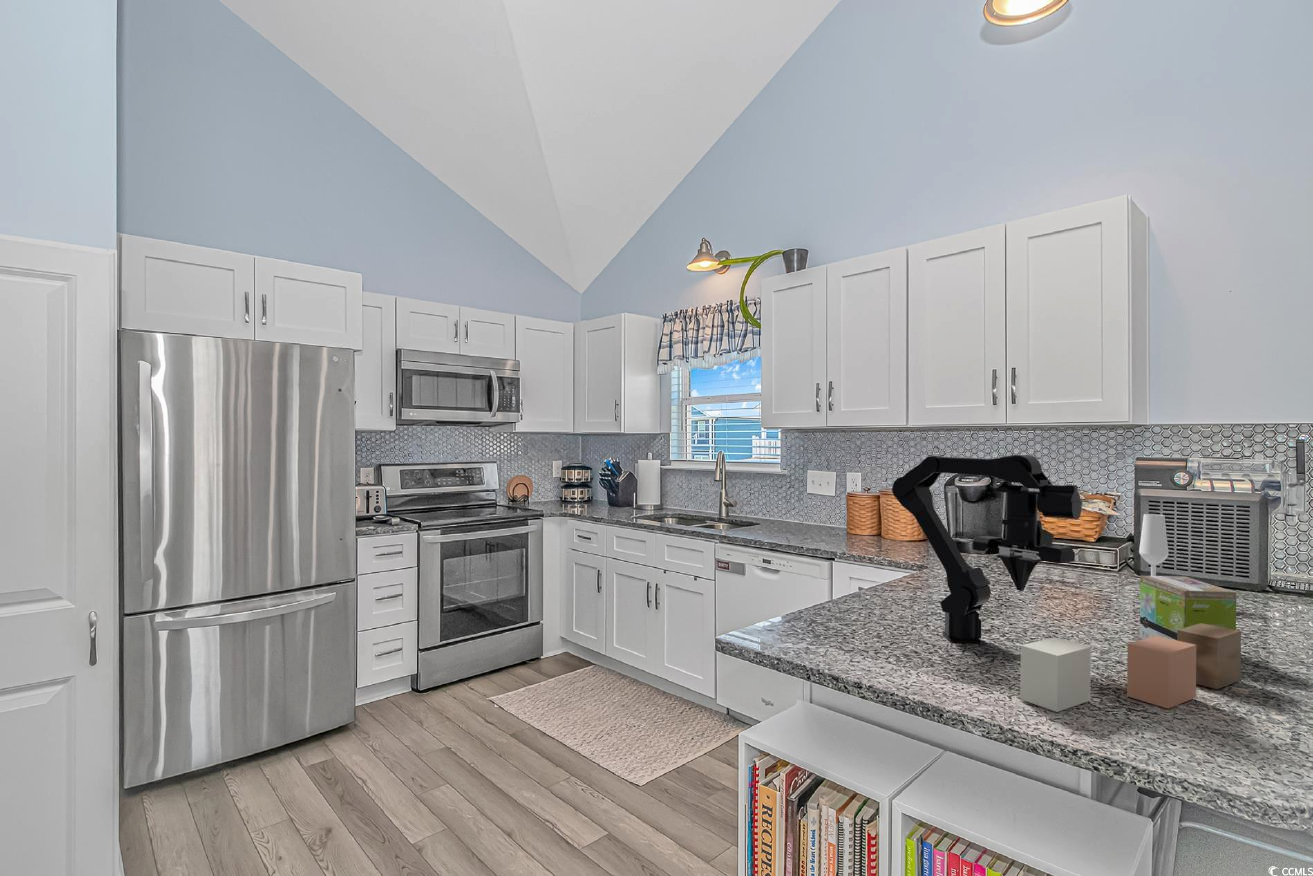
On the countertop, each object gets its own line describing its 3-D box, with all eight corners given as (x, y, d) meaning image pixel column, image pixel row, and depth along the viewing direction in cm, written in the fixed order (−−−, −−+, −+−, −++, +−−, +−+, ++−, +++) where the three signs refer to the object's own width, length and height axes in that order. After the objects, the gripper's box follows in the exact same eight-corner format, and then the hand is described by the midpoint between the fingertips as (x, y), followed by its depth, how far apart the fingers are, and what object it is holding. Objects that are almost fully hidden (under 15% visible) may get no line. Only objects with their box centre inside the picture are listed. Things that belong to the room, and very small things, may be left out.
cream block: (1020, 699, 110) (1020, 645, 110) (1053, 688, 115) (1054, 637, 115) (1057, 712, 105) (1057, 655, 105) (1090, 700, 110) (1090, 646, 110)
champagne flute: (1164, 597, 189) (1165, 514, 189) (1171, 602, 183) (1172, 516, 183) (1135, 595, 192) (1136, 513, 192) (1142, 600, 185) (1143, 515, 186)
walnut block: (1176, 678, 121) (1177, 629, 121) (1200, 669, 126) (1201, 623, 126) (1217, 689, 116) (1217, 638, 116) (1240, 679, 121) (1241, 631, 121)
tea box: (1137, 639, 147) (1138, 573, 147) (1185, 642, 146) (1186, 575, 146) (1184, 662, 132) (1185, 588, 132) (1238, 664, 131) (1239, 590, 131)
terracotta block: (1127, 696, 112) (1127, 643, 112) (1155, 686, 117) (1155, 635, 117) (1168, 708, 107) (1168, 653, 107) (1195, 697, 112) (1196, 644, 112)
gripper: (1090, 518, 132) (1089, 595, 132) (1001, 509, 148) (1000, 578, 148) (1059, 520, 126) (1058, 601, 126) (970, 511, 143) (970, 583, 142)
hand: (1020, 590), depth 136 cm, fingers closed
